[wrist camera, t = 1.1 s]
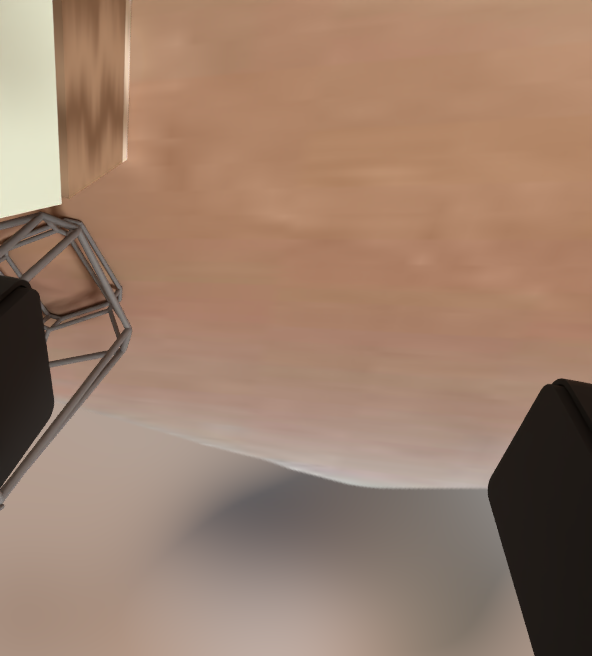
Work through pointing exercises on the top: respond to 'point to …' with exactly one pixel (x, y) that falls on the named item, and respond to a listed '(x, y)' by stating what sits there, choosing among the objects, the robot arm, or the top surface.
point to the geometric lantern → (67, 316)
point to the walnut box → (91, 88)
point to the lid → (28, 108)
